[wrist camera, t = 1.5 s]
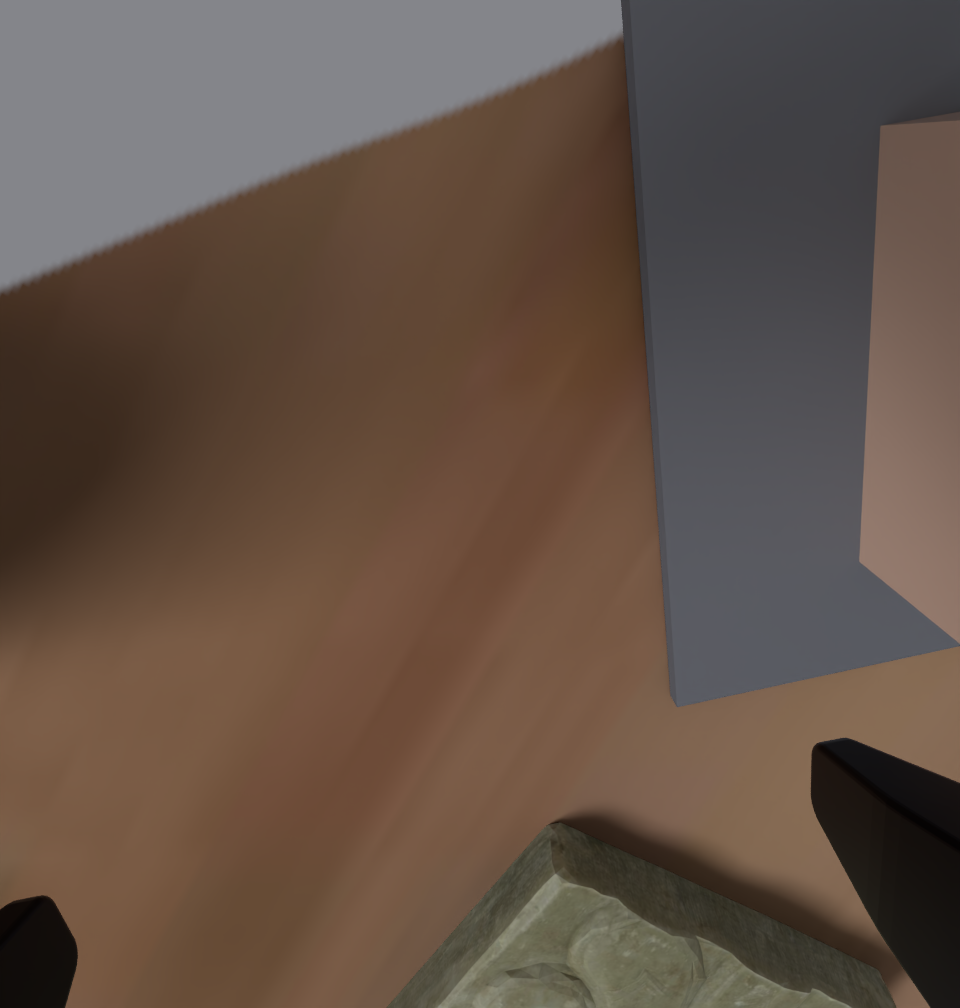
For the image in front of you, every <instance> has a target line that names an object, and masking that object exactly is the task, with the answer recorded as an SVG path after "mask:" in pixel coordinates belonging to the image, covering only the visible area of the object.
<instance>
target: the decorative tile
mask: <svg viewBox="0 0 960 1008" xmlns="http://www.w3.org/2000/svg"><path fill="white" fill-rule="evenodd" d="M387 1008H896V1005H895V1003H894V1001H893V999H892V997H891V994H890V992H889V990H888V988H887V986H886V984H885V983H884V981H883V980H882V978H881V974H880V972H879V971H878V970H877V969H875V968H873V967H871V966H869V965H867V964H865V963H863V962H861V961H859V960H857V959H855V958H853V957H851V956H849V955H847V954H845V953H843V952H841V951H839V950H837V949H835V948H833V947H830V946H828V945H826V944H824V943H822V942H820V941H818V940H816V939H814V938H812V937H810V936H808V935H805V934H803V933H801V932H799V931H797V930H795V929H793V928H791V927H789V926H787V925H785V924H783V923H780V922H778V921H776V920H774V919H772V918H770V917H768V916H766V915H764V914H761V913H759V912H757V911H755V910H753V909H750V908H748V907H746V906H744V905H741V904H739V903H737V902H735V901H732V900H730V899H728V898H726V897H723V896H721V895H719V894H717V893H715V892H713V891H710V890H708V889H706V888H704V887H702V886H700V885H697V884H695V883H693V882H691V881H689V880H687V879H684V878H682V877H680V876H678V875H676V874H674V873H672V872H669V871H667V870H665V869H663V868H661V867H658V866H656V865H654V864H652V863H649V862H647V861H645V860H642V859H640V858H638V857H636V856H633V855H631V854H629V853H626V852H624V851H622V850H620V849H618V848H615V847H613V846H611V845H609V844H606V843H604V842H602V841H600V840H598V839H596V838H593V837H591V836H589V835H587V834H585V833H582V832H580V831H578V830H576V829H574V828H572V827H569V826H567V825H565V824H562V823H555V824H549V825H547V826H546V827H545V828H544V829H543V830H542V831H541V832H540V833H539V834H538V835H537V837H536V838H535V839H534V840H533V841H532V842H531V843H530V844H529V846H528V847H527V848H526V849H525V850H524V851H523V852H522V854H521V855H520V856H519V857H518V858H517V859H516V860H515V861H514V862H513V864H512V865H511V866H510V867H509V868H508V870H507V871H506V872H505V873H504V874H503V875H502V876H501V878H500V879H499V880H498V881H497V882H496V883H495V884H494V885H493V887H492V888H491V889H490V890H489V891H488V892H487V893H486V895H485V896H484V897H483V898H482V899H481V900H480V901H479V903H478V904H477V905H476V906H475V907H474V908H473V909H472V910H471V911H470V913H469V914H468V915H467V916H466V917H465V919H464V920H463V921H462V922H461V923H460V924H459V925H458V927H457V928H456V929H455V930H454V931H453V932H452V933H451V935H450V936H449V937H448V938H447V939H446V940H445V941H444V943H443V944H442V945H441V946H440V947H439V948H438V949H437V951H436V952H435V953H434V954H433V955H432V956H431V957H430V959H429V960H428V961H427V962H426V963H425V964H424V965H423V967H422V968H421V969H420V970H419V971H418V972H417V973H416V975H415V976H414V977H413V978H412V979H411V980H410V981H409V983H408V984H407V985H406V986H405V987H404V988H403V990H402V991H401V992H400V993H399V994H398V995H397V997H396V998H395V999H394V1000H393V1001H392V1002H391V1003H390V1005H389V1006H388V1007H387Z"/></svg>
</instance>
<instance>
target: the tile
mask: <svg viewBox="0 0 960 1008" xmlns="http://www.w3.org/2000/svg"><path fill="white" fill-rule="evenodd" d="M859 562H860V563H861V564H863V565H864V566H865V567H866V568H868V569H869V570H870V571H871V572H872V573H874V574H875V575H876V576H877V577H879V578H880V579H881V580H882V581H883V582H885V583H886V584H887V585H888V586H890V587H891V588H892V589H893V590H895V591H896V592H897V593H898V594H899V595H901V596H902V597H903V598H904V599H906V600H907V601H908V602H909V603H910V604H912V605H913V606H914V607H915V608H917V609H918V610H919V611H920V612H921V613H923V614H924V615H925V616H926V617H928V618H929V619H930V620H931V621H932V622H934V623H935V624H936V625H937V626H939V627H940V628H941V629H942V630H943V631H945V632H946V633H947V634H948V635H950V636H951V637H952V638H953V639H954V640H956V641H957V642H958V643H959V644H960V112H955V113H949V114H944V115H938V116H933V117H927V118H921V119H916V120H910V121H905V122H899V123H893V124H888V125H882V126H880V146H879V166H878V187H877V207H876V228H875V248H874V269H873V289H872V310H871V330H870V351H869V371H868V392H867V412H866V433H865V454H864V474H863V495H862V515H861V536H860V556H859Z"/></svg>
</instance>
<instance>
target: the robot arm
mask: <svg viewBox="0 0 960 1008" xmlns="http://www.w3.org/2000/svg"><path fill="white" fill-rule="evenodd" d="M811 800H812V805H813V808H814V812H815V814H816V817H817V819H818V821H819V823H820V825H821V827H822V828H823V830H824V832H825V834H826V836H827V838H828V840H829V841H830V843H831V845H832V847H833V849H834V851H835V853H836V854H837V856H838V858H839V860H840V862H841V864H842V866H843V867H844V869H845V871H846V873H847V875H848V877H849V879H850V880H851V882H852V884H853V886H854V888H855V890H856V892H857V893H858V895H859V897H860V899H861V901H862V903H863V905H864V906H865V908H866V910H867V912H868V914H869V915H870V917H871V919H872V921H873V922H874V924H875V926H876V928H877V929H878V931H879V932H880V934H881V936H882V937H883V939H884V940H885V942H886V943H887V945H888V946H889V948H890V949H891V951H892V952H893V954H894V955H895V957H896V958H897V960H898V961H899V962H900V964H901V965H902V967H903V968H904V970H905V971H906V973H907V974H908V976H909V977H910V978H911V980H912V981H913V983H914V984H915V986H916V987H917V989H918V990H919V992H920V993H921V994H922V996H923V997H924V999H925V1000H926V1002H927V1003H928V1005H929V1006H930V1008H960V783H959V782H956V781H954V780H951V779H949V778H946V777H944V776H941V775H939V774H936V773H934V772H931V771H929V770H927V769H924V768H922V767H919V766H917V765H914V764H912V763H909V762H907V761H904V760H902V759H899V758H897V757H894V756H892V755H889V754H887V753H885V752H882V751H880V750H877V749H875V748H872V747H870V746H867V745H865V744H862V743H860V742H857V741H855V740H852V739H849V738H840V739H835V740H830V741H824V742H819V743H817V744H816V745H815V746H814V747H813V750H812V761H811ZM77 959H78V952H77V945H76V941H75V939H74V937H73V935H72V933H71V931H70V930H69V928H68V926H67V924H66V922H65V921H64V919H63V917H62V915H61V913H60V912H59V910H58V908H57V906H56V904H55V902H54V901H53V900H52V899H51V898H50V897H48V896H43V895H41V896H36V897H31V898H26V899H20V900H16V901H13V902H11V903H9V904H7V905H6V906H4V907H3V908H2V909H0V1008H65V1006H66V1003H67V999H68V996H69V992H70V989H71V985H72V981H73V978H74V974H75V971H76V966H77Z"/></svg>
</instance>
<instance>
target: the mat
mask: <svg viewBox="0 0 960 1008" xmlns="http://www.w3.org/2000/svg"><path fill="white" fill-rule="evenodd" d="M621 5H622V19H623V33H624V47H625V61H626V75H627V89H628V103H629V118H630V132H631V146H632V160H633V174H634V188H635V202H636V216H637V230H638V244H639V258H640V272H641V286H642V301H643V315H644V329H645V343H646V357H647V371H648V385H649V399H650V413H651V427H652V441H653V455H654V469H655V484H656V498H657V512H658V526H659V540H660V554H661V568H662V582H663V596H664V610H665V624H666V638H667V652H668V667H669V681H670V695H671V697H672V699H673V701H674V702H675V704H676V706H677V707H680V706H685V705H689V704H694V703H699V702H703V701H708V700H712V699H717V698H722V697H726V696H731V695H735V694H740V693H745V692H749V691H754V690H759V689H763V688H768V687H772V686H777V685H782V684H786V683H791V682H796V681H800V680H805V679H809V678H814V677H819V676H823V675H828V674H833V673H837V672H842V671H846V670H851V669H856V668H860V667H865V666H870V665H874V664H879V663H883V662H888V661H893V660H897V659H902V658H906V657H911V656H916V655H920V654H925V653H930V652H934V651H939V650H943V649H948V648H953V647H957V646H960V644H959V643H958V642H957V641H956V640H954V639H953V638H952V637H951V636H950V635H948V634H947V633H946V632H945V631H943V630H942V629H941V628H940V627H939V626H937V625H936V624H935V623H934V622H932V621H931V620H930V619H929V618H928V617H926V616H925V615H924V614H923V613H921V612H920V611H919V610H918V609H917V608H915V607H914V606H913V605H912V604H910V603H909V602H908V601H907V600H906V599H904V598H903V597H902V596H901V595H899V594H898V593H897V592H896V591H895V590H893V589H892V588H891V587H890V586H888V585H887V584H886V583H885V582H883V581H882V580H881V579H880V578H879V577H877V576H876V575H875V574H874V573H872V572H871V571H870V570H869V569H868V568H866V567H865V566H864V565H863V564H861V563H860V562H859V556H860V536H861V515H862V495H863V474H864V454H865V433H866V412H867V392H868V371H869V351H870V330H871V310H872V289H873V269H874V248H875V228H876V207H877V187H878V166H879V146H880V126H882V125H888V124H893V123H899V122H905V121H910V120H916V119H921V118H927V117H933V116H938V115H944V114H949V113H955V112H960V0H621Z"/></svg>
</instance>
